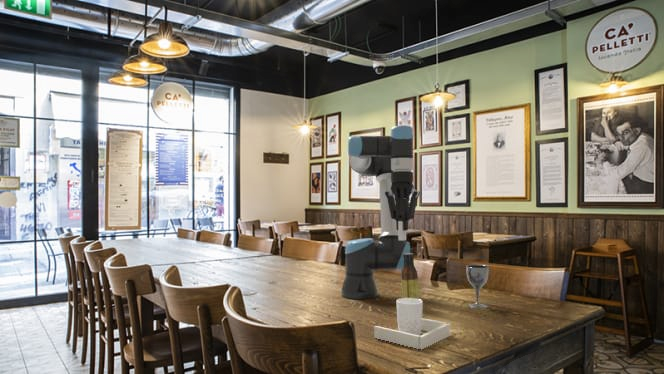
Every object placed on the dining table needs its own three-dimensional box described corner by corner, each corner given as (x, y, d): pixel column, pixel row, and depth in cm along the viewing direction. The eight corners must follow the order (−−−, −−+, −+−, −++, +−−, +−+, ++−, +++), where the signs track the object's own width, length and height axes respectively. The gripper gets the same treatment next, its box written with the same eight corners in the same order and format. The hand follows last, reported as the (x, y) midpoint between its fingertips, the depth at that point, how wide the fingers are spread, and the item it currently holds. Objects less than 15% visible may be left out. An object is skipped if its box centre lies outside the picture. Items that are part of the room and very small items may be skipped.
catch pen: (374, 338, 130) (374, 326, 130) (405, 325, 143) (405, 314, 143) (421, 350, 120) (421, 337, 120) (450, 335, 133) (450, 323, 133)
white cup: (423, 339, 130) (423, 304, 130) (395, 337, 131) (395, 303, 132) (422, 330, 138) (422, 298, 138) (397, 329, 139) (396, 297, 139)
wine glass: (463, 303, 172) (463, 264, 172) (483, 303, 173) (483, 264, 173) (471, 309, 164) (471, 268, 164) (492, 308, 165) (492, 267, 165)
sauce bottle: (420, 305, 169) (420, 252, 170) (416, 309, 164) (416, 254, 164) (403, 303, 172) (403, 252, 172) (399, 307, 166) (399, 253, 167)
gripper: (380, 171, 155) (380, 239, 154) (413, 170, 146) (413, 242, 146) (392, 172, 161) (392, 238, 160) (424, 170, 152) (424, 240, 152)
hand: (402, 240), depth 153 cm, fingers closed
